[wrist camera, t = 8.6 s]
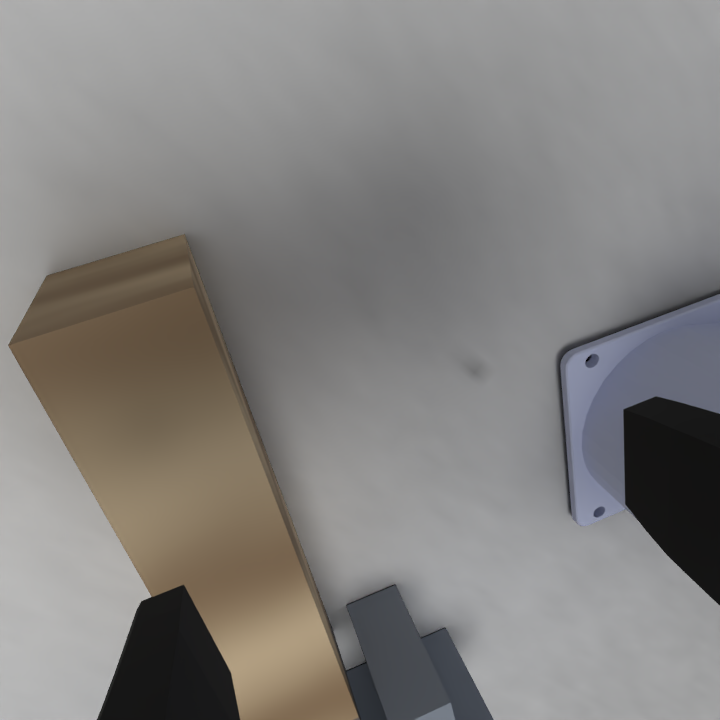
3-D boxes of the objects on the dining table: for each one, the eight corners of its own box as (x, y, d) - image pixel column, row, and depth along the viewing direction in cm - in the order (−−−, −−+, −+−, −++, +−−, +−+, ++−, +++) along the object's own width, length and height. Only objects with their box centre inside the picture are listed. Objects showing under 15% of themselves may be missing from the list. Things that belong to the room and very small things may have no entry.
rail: (47, 275, 15) (8, 345, 11) (184, 234, 16) (193, 286, 12) (245, 669, 23) (263, 792, 19) (333, 631, 23) (369, 744, 19)
